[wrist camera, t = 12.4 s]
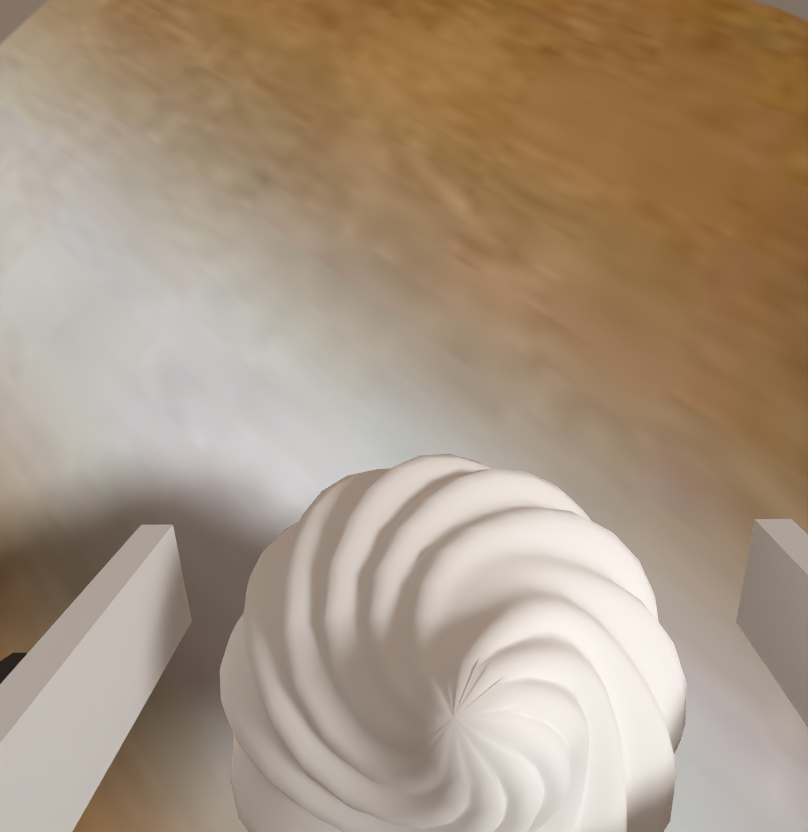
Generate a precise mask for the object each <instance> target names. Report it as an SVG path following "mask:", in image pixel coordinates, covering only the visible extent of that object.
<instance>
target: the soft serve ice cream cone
mask: <svg viewBox="0 0 808 832" xmlns="http://www.w3.org/2000/svg"><path fill="white" fill-rule="evenodd" d="M220 693H221V703H222V706H223V708H224V711H225V714H226V717H227V719H228V722H229V724H230V727H231V729H232V731H233V734H234V740H233V749H232V759H231V785H232V789H233V794H234V798H235V803H236V807H237V811H238V816H239V819H240V820H241V822H242V823H243V824H244V826H245V827H246V829H247V830H248V831H249V832H664V830H665V828H666V827H667V825H668V823H669V822H670V817H671V810H672V802H673V795H674V787H675V780H676V767H675V756H674V754H675V751H676V749H677V747H678V745H679V742H680V740H681V737H682V733H683V730H684V726H685V712H686V680H685V677H684V674H683V671H682V668H681V665H680V662H679V658H678V655H677V652H676V649H675V646H674V644H673V642H672V641H671V639H670V638H669V636H668V635H667V633H666V632H665V630H664V629H663V627H662V626H661V625H660V624H659V622H658V615H657V608H656V601H655V595H654V593H653V590H652V588H651V586H650V584H649V582H648V579H647V577H646V575H645V573H644V571H643V568H642V566H641V564H640V562H639V560H638V559H637V558H636V557H635V556H634V555H633V554H632V553H631V552H630V551H629V549H628V548H627V547H626V546H625V545H624V544H623V543H622V542H621V541H620V540H619V539H618V538H617V537H616V535H615V534H613V533H612V532H610V531H609V530H607V529H605V528H604V527H602V526H600V525H598V524H596V523H594V522H592V521H591V520H590V519H589V517H588V516H587V515H586V513H585V512H584V511H583V510H582V509H581V507H580V506H579V505H578V504H577V503H575V502H574V501H573V500H572V499H571V498H570V497H569V496H567V495H566V494H565V493H564V492H563V491H562V490H560V489H559V488H558V487H557V486H556V485H555V484H553V483H551V482H549V481H546V480H544V479H542V478H539V477H537V476H535V475H532V474H530V473H528V472H525V471H517V470H502V469H491V468H489V467H487V466H485V465H483V464H482V463H480V462H477V461H473V460H469V459H466V458H462V457H458V456H455V455H451V454H441V455H425V456H418V457H416V458H413V459H411V460H408V461H406V462H404V463H402V464H399V465H397V466H395V467H393V468H391V469H377V470H372V471H367V472H363V473H358V474H354V475H349V476H346V477H344V478H343V479H341V480H339V481H338V482H336V483H335V484H333V485H331V486H330V487H328V488H326V489H325V490H323V491H322V492H321V493H320V494H319V495H318V497H317V498H316V499H315V500H314V502H313V503H312V504H311V505H310V507H309V508H308V509H307V510H306V512H305V513H304V514H303V516H302V518H301V520H300V521H299V522H298V523H296V524H294V525H292V526H291V527H289V528H287V529H285V530H284V531H283V532H282V533H281V534H280V535H279V536H278V537H277V538H276V539H275V540H274V541H273V542H272V543H271V544H270V545H269V546H268V547H267V548H266V549H265V550H264V551H263V552H262V554H261V556H260V558H259V560H258V561H257V563H256V565H255V567H254V569H253V571H252V573H251V575H250V577H249V581H248V586H247V591H246V598H245V605H244V613H243V615H242V616H241V617H240V619H239V620H238V621H237V623H236V625H235V627H234V629H233V631H232V633H231V635H230V638H229V641H228V644H227V647H226V650H225V654H224V657H223V660H222V663H221V666H220Z"/></svg>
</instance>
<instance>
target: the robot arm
mask: <svg viewBox="0 0 808 832" xmlns="http://www.w3.org/2000/svg"><path fill="white" fill-rule="evenodd" d="M191 622H192V618H191V613H190V608H189V603H188V598H187V592H186V587H185V582H184V577H183V572H182V567H181V562H180V557H179V552H178V547H177V542H176V537H175V532H174V527H173V524H170V525H141V526H140V527H139V528H138V529H137V530H136V531H135V532H134V533H133V535H132V536H131V537H130V538H129V539H128V540H127V541H126V542H125V544H124V545H123V546H122V547H121V548H120V549H119V550H118V552H117V553H116V554H115V555H114V556H113V557H112V558H111V559H110V561H109V562H108V563H107V564H106V565H105V566H104V567H103V569H102V570H101V571H100V572H99V573H98V574H97V575H96V576H95V578H94V579H93V580H92V581H91V582H90V583H89V584H88V586H87V587H86V588H85V589H84V590H83V591H82V592H81V593H80V595H79V596H78V597H77V598H76V599H75V600H74V601H73V602H72V604H71V605H70V606H69V607H68V608H67V609H66V610H65V612H64V613H63V614H62V615H61V616H60V617H59V618H58V619H57V621H56V622H55V623H54V624H53V625H52V626H51V627H50V629H49V630H48V631H47V632H46V633H45V634H44V635H43V636H42V638H41V639H40V640H39V641H38V642H37V643H36V644H35V645H34V647H33V648H32V649H31V650H30V651H29V652H28V653H12V654H11V655H9V656H8V657H6V658H5V659H3V660H2V661H0V832H72V831H73V830H74V828H75V826H76V824H77V823H78V821H79V819H80V817H81V816H82V814H83V812H84V810H85V809H86V807H87V805H88V803H89V802H90V800H91V798H92V796H93V795H94V793H95V791H96V789H97V788H98V786H99V784H100V782H101V780H102V779H103V777H104V775H105V773H106V772H107V770H108V768H109V766H110V765H111V763H112V761H113V759H114V758H115V756H116V754H117V752H118V751H119V749H120V747H121V745H122V744H123V742H124V740H125V738H126V737H127V735H128V733H129V731H130V730H131V728H132V726H133V724H134V723H135V721H136V719H137V717H138V716H139V714H140V712H141V710H142V708H143V707H144V705H145V703H146V701H147V700H148V698H149V696H150V694H151V693H152V691H153V689H154V687H155V686H156V684H157V682H158V680H159V679H160V677H161V675H162V673H163V672H164V670H165V668H166V666H167V665H168V663H169V661H170V659H171V658H172V656H173V654H174V652H175V651H176V649H177V647H178V645H179V643H180V642H181V640H182V638H183V636H184V635H185V633H186V631H187V629H188V628H189V626H190V624H191ZM736 623H737V624H738V625H739V627H740V628H741V630H742V631H743V633H744V634H745V636H746V637H747V639H748V640H749V642H750V643H751V645H752V646H753V647H754V649H755V650H756V652H757V653H758V655H759V656H760V658H761V659H762V661H763V662H764V664H765V665H766V666H767V668H768V669H769V671H770V672H771V674H772V675H773V677H774V678H775V680H776V681H777V683H778V684H779V685H780V687H781V688H782V690H783V691H784V693H785V694H786V696H787V697H788V699H789V700H790V702H791V703H792V704H793V706H794V707H795V709H796V710H797V712H798V713H799V715H800V716H801V718H802V719H803V721H804V722H805V723H806V725H807V726H808V534H806V533H805V532H804V531H803V530H802V529H801V528H800V527H799V526H798V525H797V524H796V523H795V522H794V521H793V520H792V519H755V521H754V527H753V532H752V538H751V543H750V549H749V554H748V560H747V565H746V571H745V576H744V582H743V587H742V593H741V598H740V604H739V609H738V615H737V620H736Z"/></svg>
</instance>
